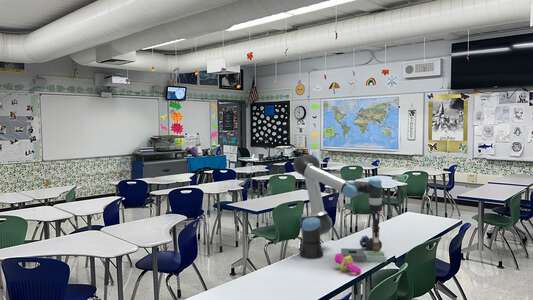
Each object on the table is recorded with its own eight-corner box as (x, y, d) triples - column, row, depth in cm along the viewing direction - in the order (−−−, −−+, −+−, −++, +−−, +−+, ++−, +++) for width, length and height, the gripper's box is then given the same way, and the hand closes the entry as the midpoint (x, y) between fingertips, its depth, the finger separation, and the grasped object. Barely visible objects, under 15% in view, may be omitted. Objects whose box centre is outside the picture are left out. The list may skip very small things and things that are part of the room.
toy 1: (351, 279, 230) (359, 262, 230) (326, 262, 242) (334, 246, 242) (359, 280, 237) (367, 264, 237) (335, 264, 249) (342, 249, 250)
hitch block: (341, 261, 255) (341, 255, 255) (341, 254, 269) (341, 248, 269) (364, 262, 253) (364, 256, 253) (363, 255, 267) (363, 249, 267)
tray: (366, 261, 255) (366, 256, 255) (365, 256, 265) (365, 251, 265) (386, 262, 253) (386, 256, 253) (384, 256, 263) (384, 251, 263)
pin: (379, 252, 256) (379, 228, 255) (371, 251, 257) (371, 228, 256) (379, 249, 260) (379, 226, 259) (371, 249, 261) (371, 226, 260)
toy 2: (365, 234, 284) (383, 238, 272) (365, 246, 285) (383, 251, 273) (357, 236, 279) (375, 241, 267) (357, 249, 280) (375, 254, 268)
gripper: (383, 206, 248) (383, 245, 249) (380, 201, 264) (380, 237, 266) (370, 206, 249) (370, 245, 250) (368, 201, 266) (368, 237, 267)
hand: (375, 241), depth 258 cm, fingers closed on pin, 4 cm apart
